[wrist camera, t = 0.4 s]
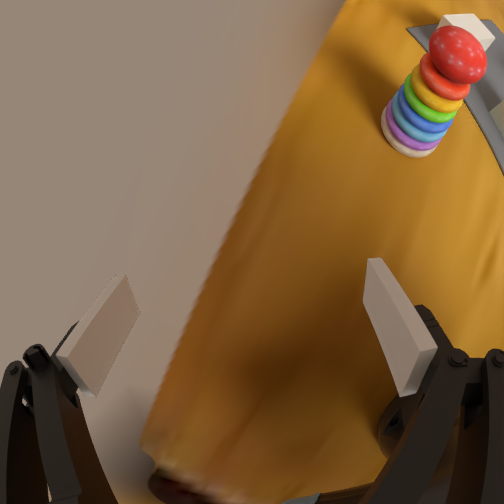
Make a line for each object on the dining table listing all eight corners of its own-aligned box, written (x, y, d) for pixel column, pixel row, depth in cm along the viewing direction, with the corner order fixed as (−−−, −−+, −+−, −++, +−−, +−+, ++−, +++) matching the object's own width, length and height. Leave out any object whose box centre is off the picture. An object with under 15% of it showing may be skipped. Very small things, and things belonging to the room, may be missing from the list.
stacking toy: (444, 129, 27) (518, 56, 9) (419, 172, 28) (505, 109, 10) (396, 92, 28) (439, -6, 10) (368, 131, 29) (409, 32, 11)
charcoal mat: (564, 135, 20) (566, 134, 19) (504, 176, 25) (505, 176, 25) (490, 21, 21) (491, 20, 21) (406, 29, 27) (407, 28, 26)
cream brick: (459, 37, 24) (473, 13, 17) (478, 59, 24) (495, 38, 17) (430, 42, 26) (442, 15, 19) (450, 66, 25) (467, 41, 18)
